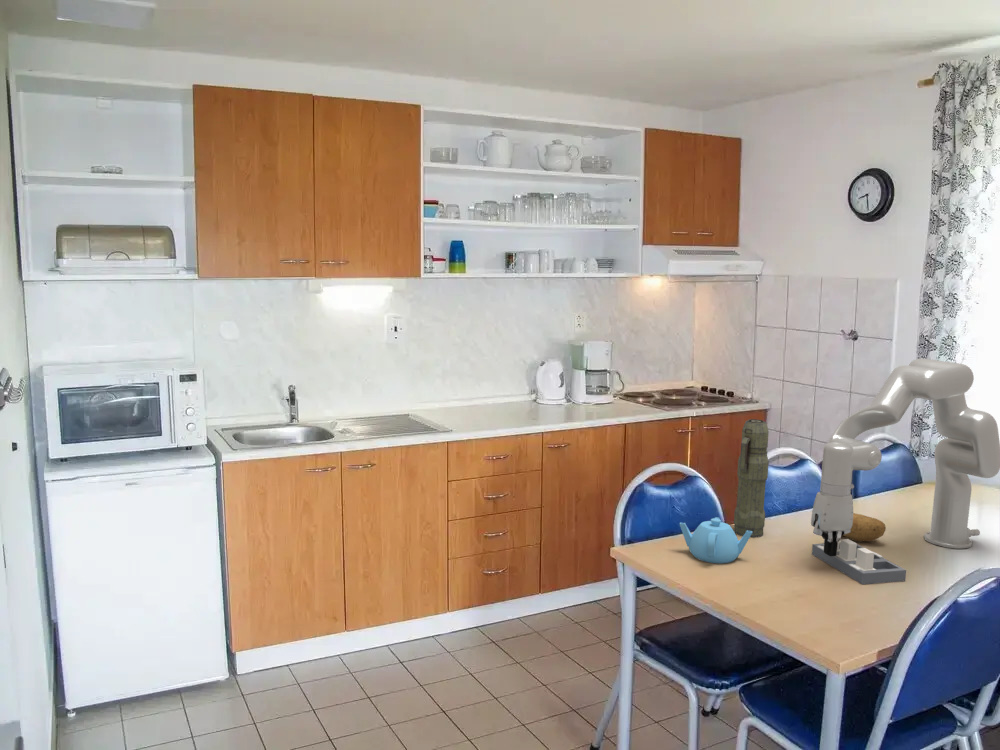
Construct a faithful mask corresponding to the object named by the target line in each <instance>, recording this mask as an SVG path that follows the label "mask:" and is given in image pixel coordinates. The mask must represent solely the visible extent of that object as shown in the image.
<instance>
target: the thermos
mask: <svg viewBox="0 0 1000 750" xmlns="http://www.w3.org/2000/svg"><path fill="white" fill-rule="evenodd" d="M769 431H770V430H769V428H768V424H767V422H766V421H764V420H763V419H756V418H755V419H754V418H751V419H747V420H745V421H744V425H743V427H742V429H741V441H740V442H741V444H740V454H739V456H738V460H737V473H736V475H737V478H738V481H737V482H738V484H737V496H736V498H737V500H736V507H735V509H734V516H733V524H734V526H733V528H734V529H733V531H734V533H735V535H738V536H740V537H743V536H744V534H745V533H746V531H752V534H751V536H750V538H760V537H762V536H764V528H765V525H766V523H765V521H766V511H765V508H764V507H765V496H766V495H765V494H766V482H767V480H768V475H769V458H768V447H769V446H768V445H769V433H770V432H769Z"/></svg>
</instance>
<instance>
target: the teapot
mask: <svg viewBox="0 0 1000 750" xmlns="http://www.w3.org/2000/svg"><path fill="white" fill-rule="evenodd" d="M679 528H680V529H681V532H682V535H683V538H684V541H685V543H686V546H687V547H688V549H689V552H690V553H691V554H692V556H693V557H694V558H696V559H697V560H700V561H702V562H705V563H710V564H711V563H712V564H729V563H732V562H734V561H735V560H736V559H737V558H738V557H739V556H740V554H742V552H743V550H744V548H745V546H746V545H747V543H748V542H749V539H750V538H751V537H750V536H751V534H752V531H746V533H745V534H744V536H741V538H740V539H739V540H738V537H737V534H736V533H735V532H734V529H733V528H732V526H731V525H730V524H729V523H725V522H723V521H722V519H720V517H717V516H716V517H714V518H710V520H706V521H702V522H701V523H699V525H698V526H697V527H696V528H695V530H694V531H693V533H691V531H690V529H689V527H688V526H687V524H686V522H679Z"/></svg>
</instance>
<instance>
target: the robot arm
mask: <svg viewBox="0 0 1000 750" xmlns="http://www.w3.org/2000/svg"><path fill="white" fill-rule="evenodd" d="M973 383H974V373H973V370H972V369H971V367H969V366H968V365H966V364H963V363H958V362H952V361H951V362H950V361H944V360H938V359H937V360H936V359H931V358H921V357H920V358H916V359H914V360H912V361H911V362H909V365H899V366H897V367H896V368H894V369H893V370H892V371H891V373H890V374H889V376H888V377H887V378H886V381H885V382H884V383H883V385H882V387H881V388H880V389H879V391H878V393H877V394H876V395H875V397H874V399H873V400H872V401H871V403H870V404H869V405H867V406H865V407H863V408H861V409H859V410H858V411H856V412H854V413H853V414H851V415H850V416H847V417H846V418H844V420H842V421H841V422H840V423H839V425H838V426H837V427H836V428H835V430H834V432H833V433H832V435H831V437H830V438H829V440H828V442H827V443H826V444H824V446H823V451H822V452H823V453H822V463H821V464H822V465H821V479H820V487H819V488H820V489H819V491H818V492H817V493H816V496H815V497H814V501H813V505H812V506H813V507H812V512H811V518H810V524H811V525H810V526H812V527H813V529H812V533H813V535H814V534H815V535H816V536H821V538H822V539H823V543H824V553H825V554H827V555H829V556H836V553H837V545H838V542H839V541H840V542H841V538H842V537H843V536H844V534H847V533H850V532H851V530H850V529H851V528H852V524H853V513H854V500H853V495H852V494H851V490H852V489H854V488H855V485H854V484H853V483H852V482H853V481H852V480H853V471H862V472H863V471H872V470H875V469H876V468H877V467H878V466H880V463H881V462H882V459H883V457H882V450H880V448H879V447H878V446H877V445H875V444H872V443H871V442H866V441H862V440H859V439H856V438H857V437H858V436H859V435H861V434H863V433H864V432H866V431H867V432H868V431H871V430H872V429H873V430H874V429H878V428H883V427H888V426H892V425H895V424H897V423H899V422H900V421H901V420H902V417H904V415H905V413H906V411H907V410H908V409H909V407H910V405H911V404H912V403H913V402H914V400H915V399H923V400H927V401H931V403H932V407H933V408H932V409H933V415H934V422H935V426H936V429H937V432H938V434H939V435H941V436H942V437H944V438H943V439H940V440H939V442H937V444H936V446H935V448H934V462H935V484H934V485H935V486H934V492H933V505H932V514H931V521H930V522H931V523H930V531H927V532H925V533H924V534H923V535H924V536H923V538H924V540H925V541H927V542H928V543H930V544H932V545H935V546H939V547H943V548H948V549H955V550H957V549H962V550H963V549H968V548H971V547H972V544H973V543H972V540H971V539H970V537H977V536H980V535H981V531H980V529H978V528H976V529H970V527H968V523H969V515H970V507H971V497H972V491H973V490H972V482H971V480H970V478H969V475H970V476H973V477H978V478H982V479H990V478H994V477H995V476H997V475H998V474H999V471H1000V434H999V427H998V424H997V421H996V419H995V417H994V416H993V415H991V414H990V413H989V412H986V411H983V410H977V409H972V408H970V407H968V404H967V400H966V392H968V391H969V390H970V389H971V387H972V386H973Z"/></svg>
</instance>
